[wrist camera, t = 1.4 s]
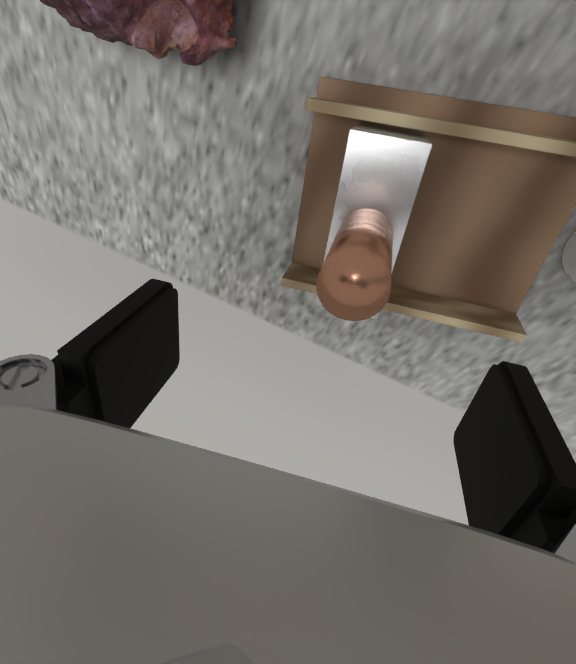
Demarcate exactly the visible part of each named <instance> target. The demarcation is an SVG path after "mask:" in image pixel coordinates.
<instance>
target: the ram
mask: <svg viewBox="0 0 576 664" xmlns="http://www.w3.org/2000/svg"><path fill="white" fill-rule="evenodd" d="M431 146H432V143H431V142H430V140H429V139H428V137H427V136H426V134H424V133H419V132H413V131H407V130H401V129H396V128H390V127H384V126H378V125H373V124H367V123H361V122H360V123H359V124H357V125H356V126H354V127H353V128H352V129H350V133H349V137H348V142H347V147H346V152H345V157H344V162H343V167H342V172H341V177H340V182H339V187H338V192H337V197H336V202H335V207H334V212H333V217H332V222H331V227H330V232H329V237H328V242H327V247H326V252H325V257H324V262H323V265H322V268H321V270H320V272H319V274H318V277H317V282H316V291H317V297H316V302H315V305H318V306H322V307H324V308H325V309H326V310H327V311H328V312H330V313H331V314H333V315H334V316H336V317H338V318H341V319H344V320H350V321H359V320H364V319H368V318H372V319H376V320H377V318H378V315H379V312H380V311H381V310H382V309H383V308H384V306H385V305H386V303H387V302H388V299H389V296H390V291H391V274H392V271H393V267H394V264H395V261H396V258H397V255H398V251H399V248H400V245H401V242H402V239H403V236H404V232H405V229H406V226H407V223H408V220H409V216H410V213H411V210H412V207H413V204H414V201H415V197H416V194H417V191H418V188H419V185H420V181H421V178H422V175H423V172H424V169H425V166H426V162H427V159H428V156H429V153H430V150H431Z"/></svg>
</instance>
